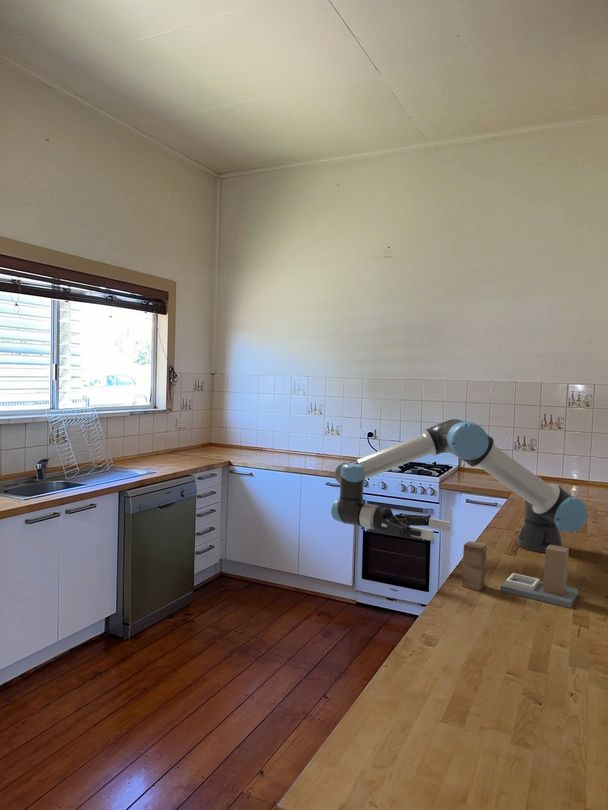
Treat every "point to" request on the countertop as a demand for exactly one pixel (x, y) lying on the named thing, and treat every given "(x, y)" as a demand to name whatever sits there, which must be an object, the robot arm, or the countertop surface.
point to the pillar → (474, 565)
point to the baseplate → (542, 594)
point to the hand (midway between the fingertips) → (441, 531)
